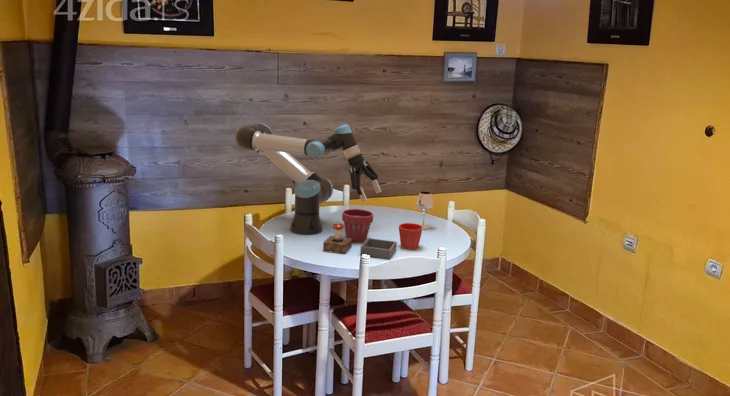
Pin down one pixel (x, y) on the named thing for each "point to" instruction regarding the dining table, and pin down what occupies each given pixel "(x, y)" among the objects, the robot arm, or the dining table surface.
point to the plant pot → (357, 223)
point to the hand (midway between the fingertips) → (371, 196)
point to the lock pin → (338, 232)
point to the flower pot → (410, 235)
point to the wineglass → (425, 204)
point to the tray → (378, 248)
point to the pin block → (337, 245)
